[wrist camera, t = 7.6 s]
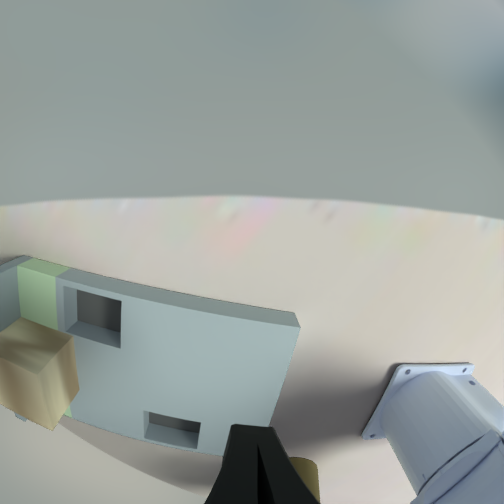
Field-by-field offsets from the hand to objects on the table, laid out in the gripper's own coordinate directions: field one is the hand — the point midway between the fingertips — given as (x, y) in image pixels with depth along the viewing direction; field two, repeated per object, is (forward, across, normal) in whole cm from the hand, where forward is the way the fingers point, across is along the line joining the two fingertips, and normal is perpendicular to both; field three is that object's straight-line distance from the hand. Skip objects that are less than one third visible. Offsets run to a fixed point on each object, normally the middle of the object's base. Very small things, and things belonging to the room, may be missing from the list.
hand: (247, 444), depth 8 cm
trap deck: (+10, +6, +5) cm, 13 cm away
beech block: (+8, +13, +5) cm, 16 cm away
